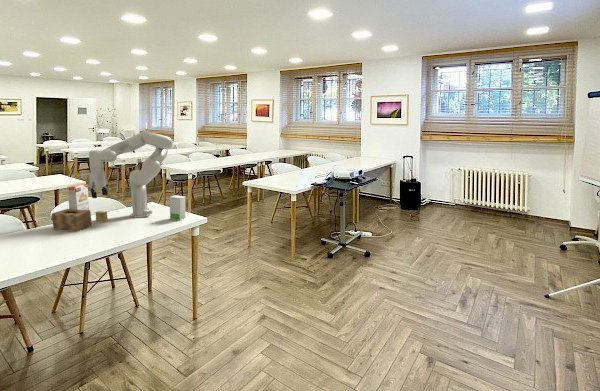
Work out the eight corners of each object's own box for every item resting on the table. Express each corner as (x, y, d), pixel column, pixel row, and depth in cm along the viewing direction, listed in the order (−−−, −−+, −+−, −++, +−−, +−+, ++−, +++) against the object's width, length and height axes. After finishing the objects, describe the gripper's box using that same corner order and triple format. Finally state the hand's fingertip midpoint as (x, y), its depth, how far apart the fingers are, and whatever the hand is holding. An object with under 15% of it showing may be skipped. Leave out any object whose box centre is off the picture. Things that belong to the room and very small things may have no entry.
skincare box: (169, 219, 250) (168, 196, 246) (175, 217, 256) (174, 194, 253) (180, 220, 247) (179, 197, 244) (186, 218, 253) (185, 195, 250)
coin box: (91, 226, 231) (90, 210, 229) (77, 231, 220) (75, 215, 218) (68, 224, 234) (67, 208, 232) (53, 229, 222) (51, 213, 220)
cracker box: (78, 217, 250) (75, 186, 245) (69, 217, 250) (66, 186, 245) (90, 212, 263) (87, 183, 259) (82, 212, 263) (79, 182, 259)
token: (107, 220, 244) (106, 211, 243) (104, 221, 241) (103, 212, 240) (99, 219, 245) (98, 211, 244) (96, 221, 242) (95, 212, 241)
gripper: (101, 168, 245) (103, 193, 249) (81, 171, 229) (84, 199, 232) (111, 168, 244) (113, 194, 248) (92, 172, 227) (95, 199, 231)
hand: (99, 196), depth 240 cm, fingers open, 9 cm apart
